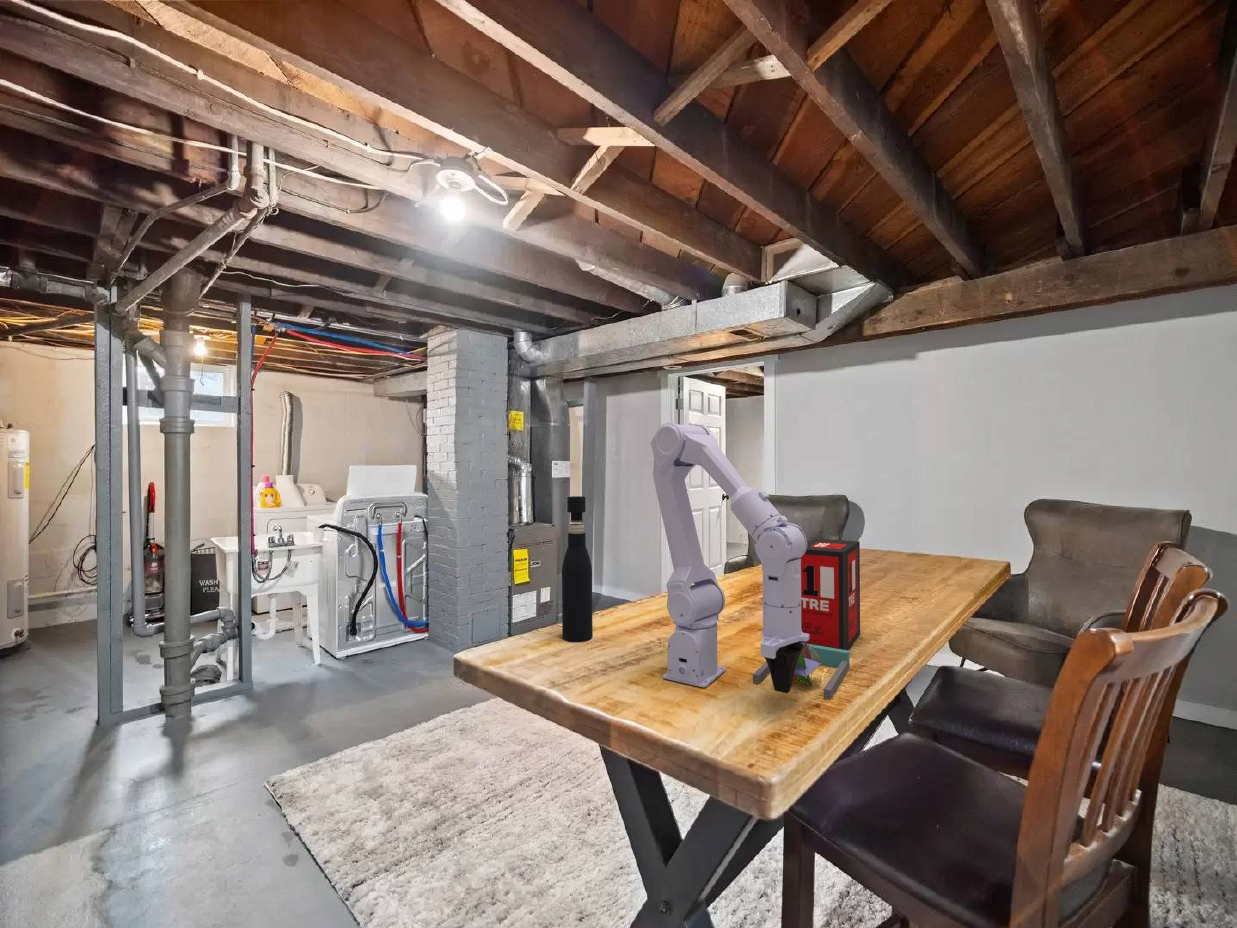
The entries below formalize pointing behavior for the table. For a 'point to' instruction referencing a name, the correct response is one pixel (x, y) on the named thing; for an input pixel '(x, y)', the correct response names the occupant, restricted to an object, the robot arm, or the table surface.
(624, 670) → the table surface
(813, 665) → the geometric puzzle
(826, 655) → the u-shaped frame
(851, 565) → the cleaning product box
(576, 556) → the black water bottle
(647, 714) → the table surface
